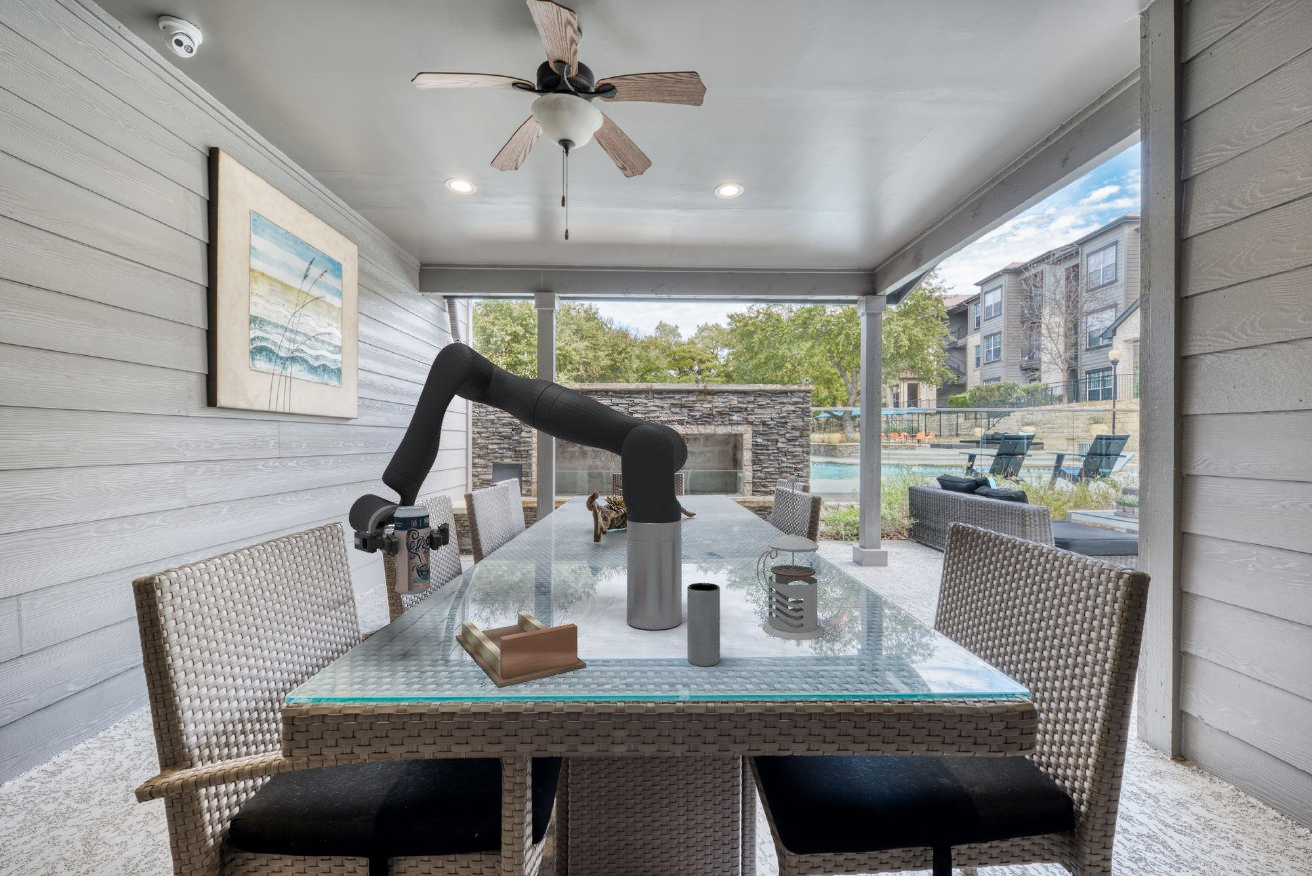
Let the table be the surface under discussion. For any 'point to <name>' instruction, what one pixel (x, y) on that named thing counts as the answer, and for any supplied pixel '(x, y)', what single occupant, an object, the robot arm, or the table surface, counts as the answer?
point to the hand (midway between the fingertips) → (416, 544)
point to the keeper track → (522, 650)
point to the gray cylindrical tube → (703, 624)
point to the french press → (792, 589)
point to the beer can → (412, 550)
